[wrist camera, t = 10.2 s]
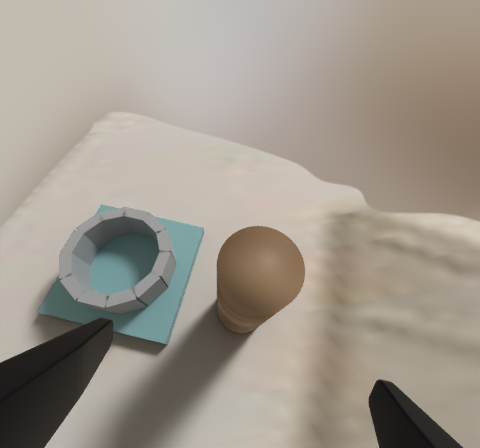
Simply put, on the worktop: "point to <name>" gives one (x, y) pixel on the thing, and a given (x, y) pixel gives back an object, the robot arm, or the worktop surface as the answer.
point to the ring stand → (125, 272)
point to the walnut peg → (256, 277)
